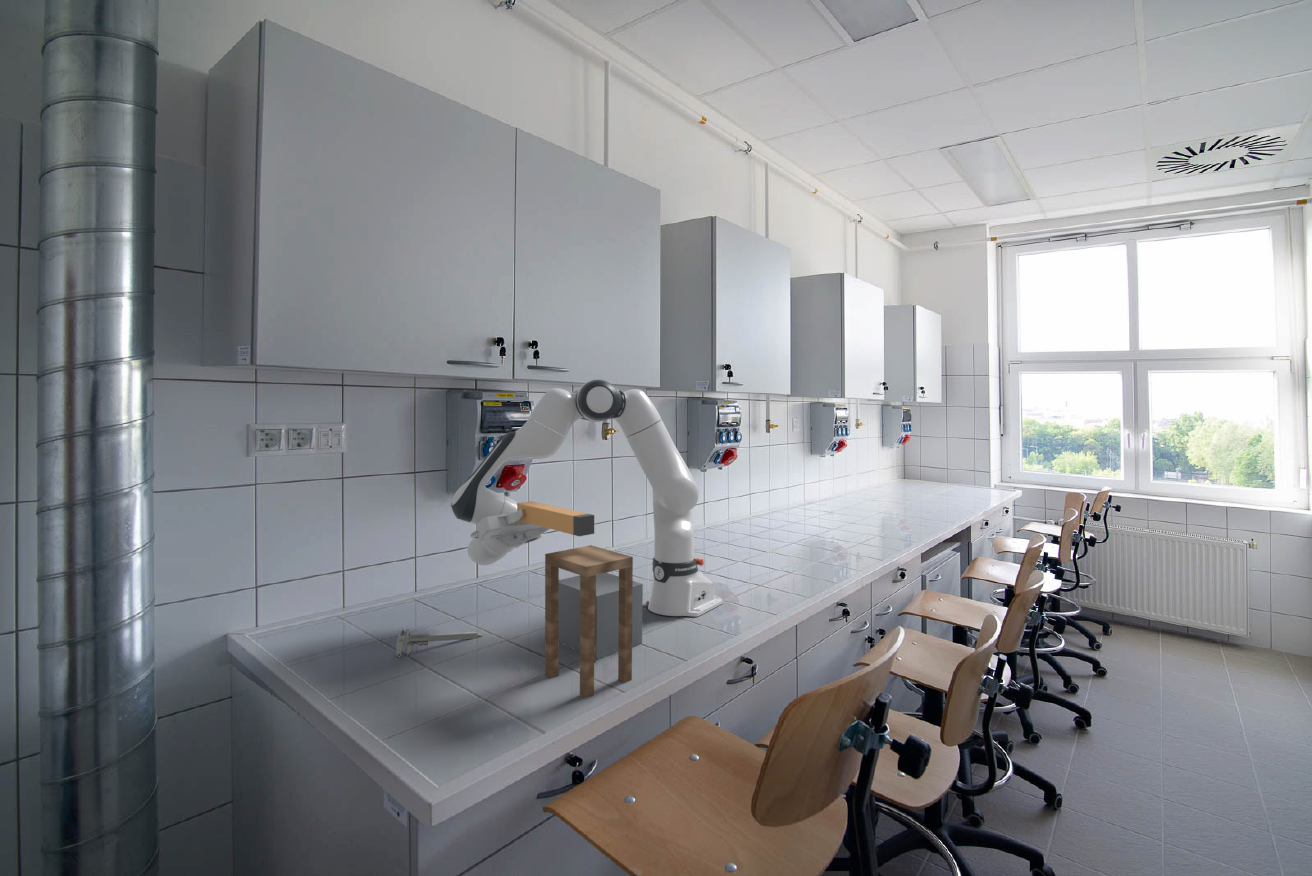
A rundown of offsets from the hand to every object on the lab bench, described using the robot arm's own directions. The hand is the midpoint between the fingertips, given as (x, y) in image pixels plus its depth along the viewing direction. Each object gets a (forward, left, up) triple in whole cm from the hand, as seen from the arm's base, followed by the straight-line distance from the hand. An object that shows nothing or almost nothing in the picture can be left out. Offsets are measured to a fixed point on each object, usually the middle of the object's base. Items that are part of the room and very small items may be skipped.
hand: (533, 510), depth 147 cm
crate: (-13, +8, -32) cm, 36 cm away
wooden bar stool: (+1, +22, -32) cm, 39 cm away
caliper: (+16, -15, -33) cm, 39 cm away
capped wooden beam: (0, +8, -2) cm, 9 cm away
